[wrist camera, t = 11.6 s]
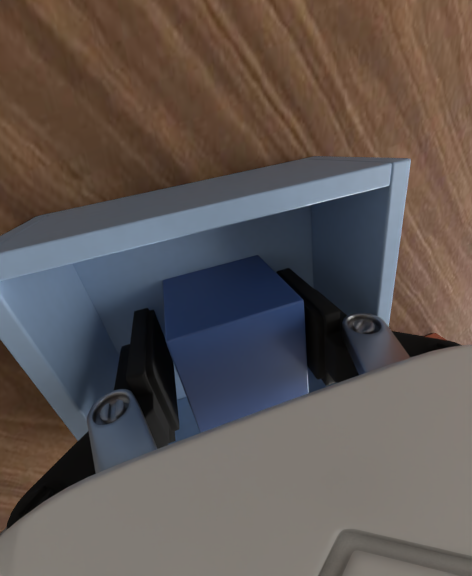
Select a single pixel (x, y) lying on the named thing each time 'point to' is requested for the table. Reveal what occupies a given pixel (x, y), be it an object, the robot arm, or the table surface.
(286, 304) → the blue block
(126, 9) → the table surface
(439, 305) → the table surface
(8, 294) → the blue bin
